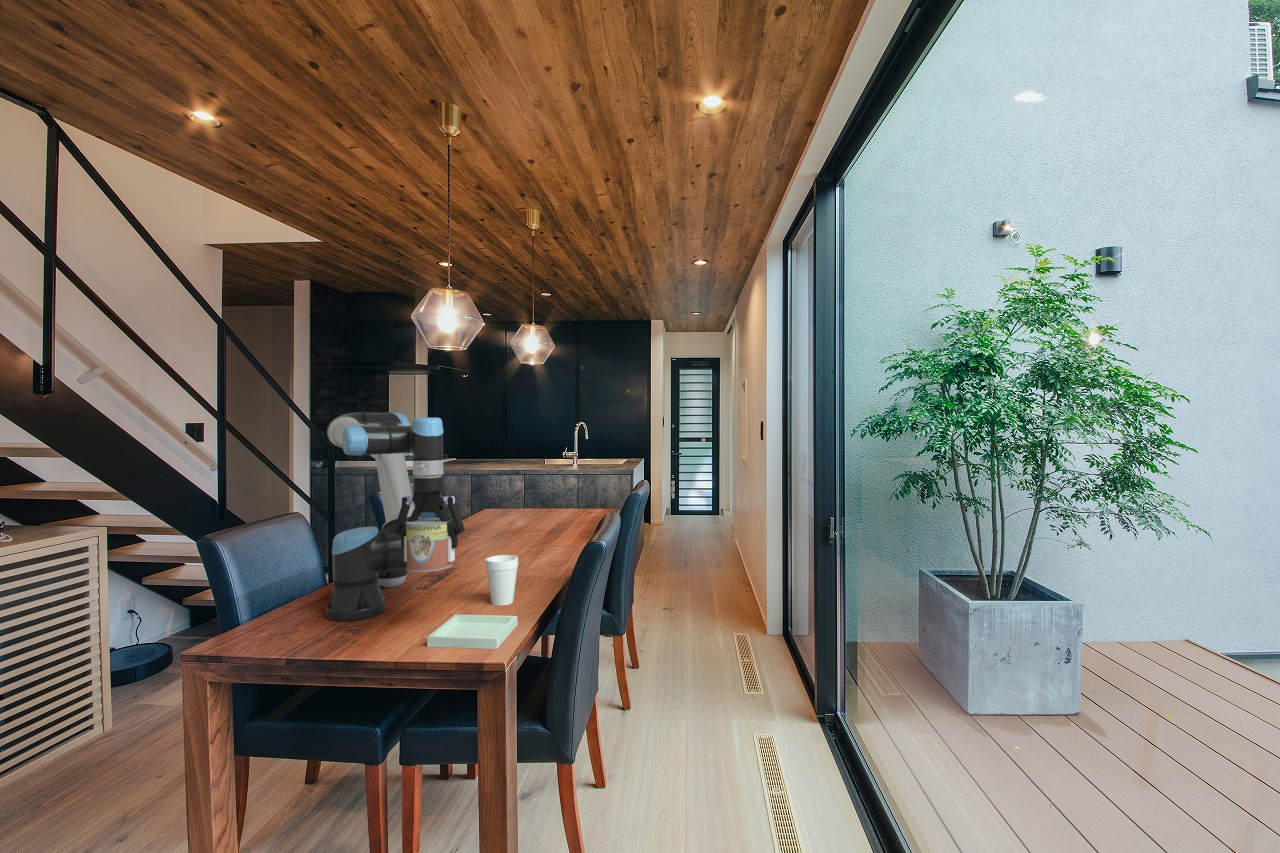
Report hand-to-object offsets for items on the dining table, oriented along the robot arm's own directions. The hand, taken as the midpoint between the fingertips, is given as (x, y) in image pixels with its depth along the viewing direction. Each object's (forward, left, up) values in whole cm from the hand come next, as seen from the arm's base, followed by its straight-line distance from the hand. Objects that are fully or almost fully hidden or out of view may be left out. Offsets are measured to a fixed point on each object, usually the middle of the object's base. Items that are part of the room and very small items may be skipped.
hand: (429, 560), depth 161 cm
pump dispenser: (-30, +38, -18) cm, 52 cm away
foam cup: (+12, +23, -18) cm, 31 cm away
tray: (+14, -5, -17) cm, 23 cm away
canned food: (0, 0, -2) cm, 2 cm away
